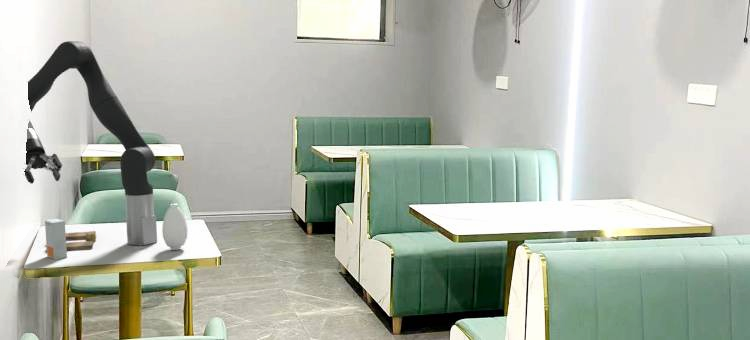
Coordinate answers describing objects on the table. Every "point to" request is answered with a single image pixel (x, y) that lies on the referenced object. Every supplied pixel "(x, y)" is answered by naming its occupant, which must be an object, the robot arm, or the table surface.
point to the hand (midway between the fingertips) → (45, 180)
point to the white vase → (174, 227)
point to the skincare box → (55, 238)
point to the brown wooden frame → (80, 245)
